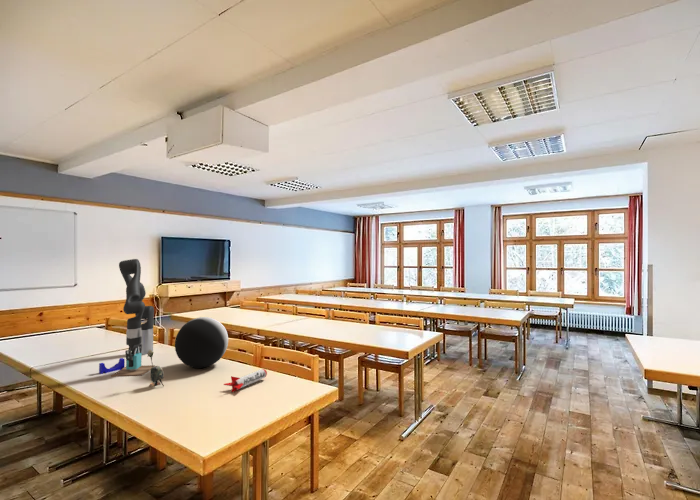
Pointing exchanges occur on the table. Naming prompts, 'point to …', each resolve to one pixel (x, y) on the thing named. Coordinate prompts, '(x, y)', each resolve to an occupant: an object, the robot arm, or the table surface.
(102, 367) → the cable clip
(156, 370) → the plant with pod
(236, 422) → the table surface
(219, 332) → the black ball
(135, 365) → the aqua box
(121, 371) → the walnut board
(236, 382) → the model rocket
